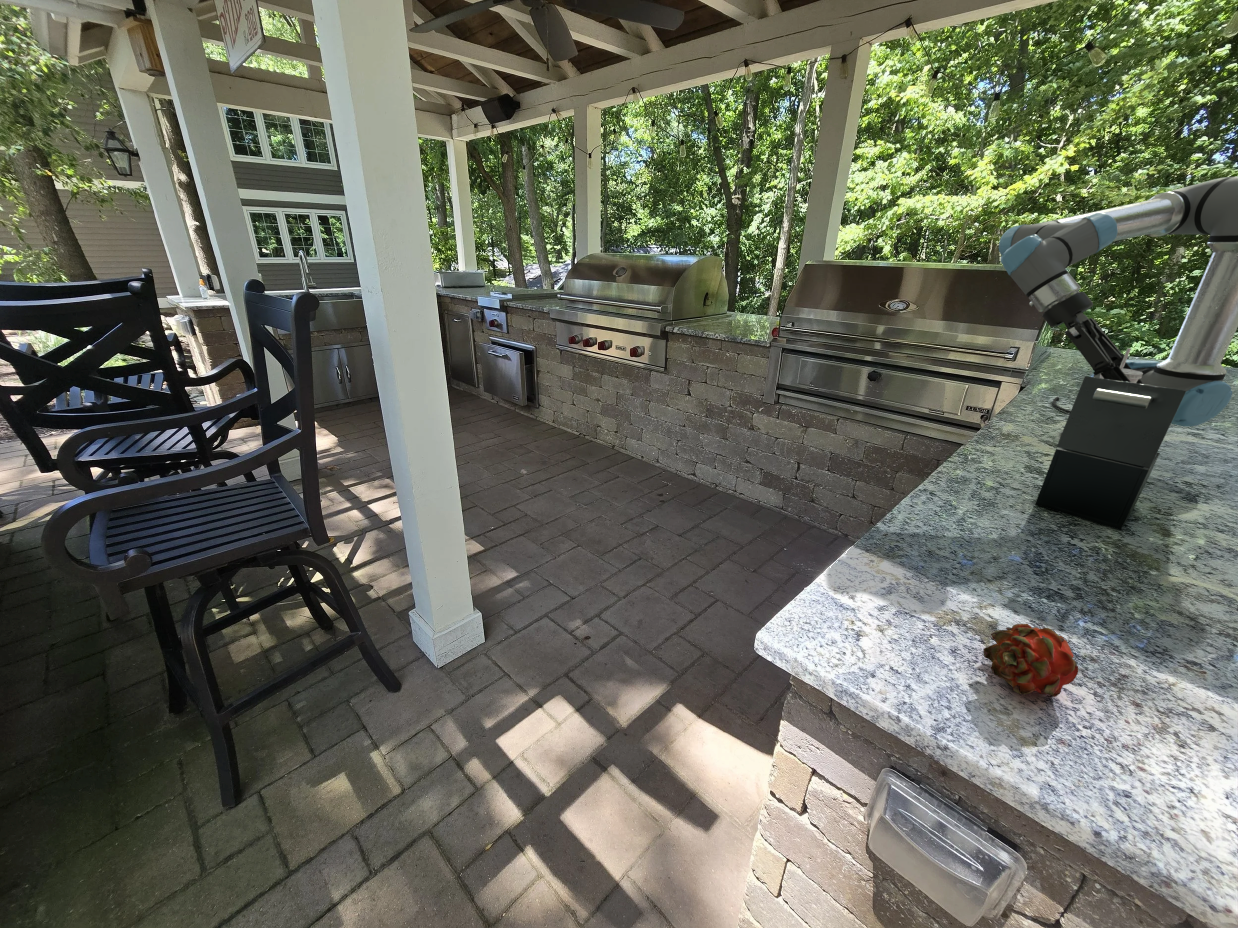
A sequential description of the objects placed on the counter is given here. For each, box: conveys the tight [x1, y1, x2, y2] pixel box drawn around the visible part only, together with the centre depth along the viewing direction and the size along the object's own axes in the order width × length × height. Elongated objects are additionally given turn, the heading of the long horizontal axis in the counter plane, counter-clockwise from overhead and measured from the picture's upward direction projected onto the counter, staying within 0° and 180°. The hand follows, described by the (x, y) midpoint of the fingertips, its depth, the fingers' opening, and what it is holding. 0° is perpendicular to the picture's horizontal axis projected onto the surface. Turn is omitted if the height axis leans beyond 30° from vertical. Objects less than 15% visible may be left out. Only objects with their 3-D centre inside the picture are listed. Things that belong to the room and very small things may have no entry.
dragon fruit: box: [983, 623, 1079, 698], centre depth 62 cm, size 8×8×12 cm
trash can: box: [1034, 447, 1160, 531], centre depth 103 cm, size 14×14×13 cm
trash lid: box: [1056, 375, 1186, 468], centre depth 91 cm, size 14×14×9 cm
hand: (1134, 393), depth 100 cm, fingers closed on smoothie, 6 cm apart
